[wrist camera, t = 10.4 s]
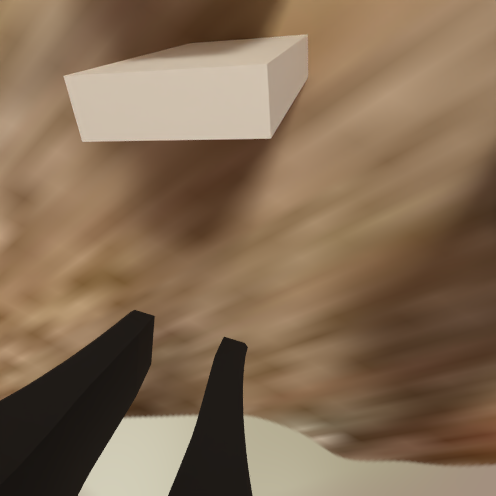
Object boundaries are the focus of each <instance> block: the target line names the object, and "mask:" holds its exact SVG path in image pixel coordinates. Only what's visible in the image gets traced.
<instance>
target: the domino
mask: <svg viewBox="0 0 496 496" xmlns="http://www.w3.org/2000/svg"><path fill="white" fill-rule="evenodd" d="M307 78H308V34H307V35H294V36H280V37H267V38H253V39H240V40H226V41H213V42H199V43H189V44H185V45H181V46H177V47H173V48H169V49H165V50H162V51H158V52H154V53H150V54H146V55H142V56H138V57H135V58H131V59H127V60H123V61H119V62H115V63H111V64H108V65H104V66H100V67H96V68H92V69H88V70H84V71H81V72H77V73H73V74H69V75H65V76H64V79H65V83H66V86H67V90H68V93H69V97H70V100H71V104H72V107H73V111H74V114H75V118H76V121H77V125H78V128H79V132H80V135H81V139H82V142H93V141H155V140H217V139H271V138H272V136H273V134H274V133H275V131H276V129H277V128H278V126H279V124H280V123H281V121H282V120H283V118H284V116H285V115H286V113H287V111H288V110H289V108H290V106H291V105H292V103H293V101H294V100H295V98H296V96H297V95H298V93H299V92H300V90H301V88H302V87H303V85H304V83H305V82H306V80H307Z"/></svg>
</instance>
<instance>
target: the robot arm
mask: <svg viewBox="0 0 496 496" xmlns="http://www.w3.org/2000/svg"><path fill="white" fill-rule="evenodd" d="M154 317H155V316H153V315H150V314H146V313H143V312H140V311H136V310H134V311H132V312H130V313H129V314H128V315H126V316H125V317H124V318H123V319H121V320H120V321H119V322H118V323H116V324H115V325H114V326H112V327H111V328H110V329H109V330H107V331H106V332H105V333H103V334H102V335H101V336H99V337H98V338H97V339H95V340H94V341H93V342H91V343H90V344H88V345H87V346H86V347H84V348H83V349H81V350H80V351H79V352H77V353H76V354H75V355H73V356H72V357H70V358H69V359H67V360H66V361H64V362H63V363H61V364H60V365H58V366H57V367H55V368H54V369H52V370H51V371H49V372H47V373H46V374H44V375H43V376H41V377H40V378H38V379H37V380H35V381H33V382H32V383H30V384H28V385H27V386H25V387H23V388H22V389H20V390H18V391H17V392H15V393H13V394H11V395H9V396H8V397H6V398H4V399H2V400H1V401H0V496H78V494H79V492H80V490H81V488H82V486H83V484H84V482H85V480H86V479H87V477H88V475H89V473H90V471H91V470H92V468H93V466H94V465H95V463H96V461H97V460H98V458H99V456H100V455H101V453H102V451H103V450H104V448H105V447H106V445H107V443H108V442H109V440H110V439H111V437H112V435H113V434H114V432H115V430H116V429H117V427H118V425H119V424H120V422H121V421H122V419H123V417H124V416H125V414H126V412H127V411H128V409H129V407H130V406H131V404H132V402H133V401H134V399H135V397H136V395H137V393H138V391H139V389H140V387H141V385H142V383H143V381H144V378H145V376H146V374H147V372H148V370H149V367H150V365H151V358H152V345H153V331H154ZM247 348H248V347H247V345H246V344H245V343H243V342H240V341H236V340H233V339H230V338H226V337H224V338H223V340H222V342H221V344H220V346H219V348H218V351H217V353H216V355H215V358H214V361H213V365H212V368H211V372H210V376H209V379H208V383H207V386H206V390H205V394H204V397H203V401H202V405H201V408H200V412H199V415H198V419H197V423H196V426H195V429H194V432H193V435H192V438H191V440H190V443H189V445H188V448H187V450H186V453H185V456H184V458H183V460H182V463H181V465H180V468H179V470H178V473H177V476H176V478H175V480H174V483H173V485H172V487H171V490H170V492H169V495H168V496H252V490H251V484H250V478H249V470H248V463H247V454H246V444H245V434H244V419H243V373H244V363H245V356H246V352H247Z"/></svg>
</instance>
